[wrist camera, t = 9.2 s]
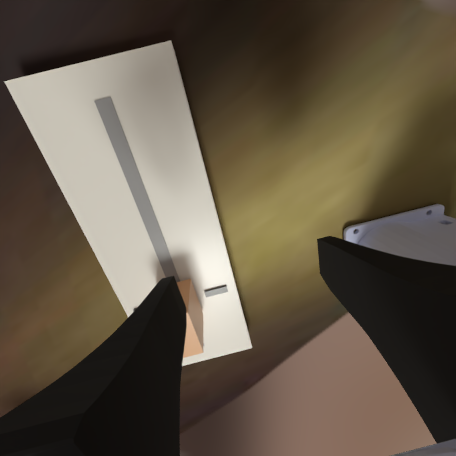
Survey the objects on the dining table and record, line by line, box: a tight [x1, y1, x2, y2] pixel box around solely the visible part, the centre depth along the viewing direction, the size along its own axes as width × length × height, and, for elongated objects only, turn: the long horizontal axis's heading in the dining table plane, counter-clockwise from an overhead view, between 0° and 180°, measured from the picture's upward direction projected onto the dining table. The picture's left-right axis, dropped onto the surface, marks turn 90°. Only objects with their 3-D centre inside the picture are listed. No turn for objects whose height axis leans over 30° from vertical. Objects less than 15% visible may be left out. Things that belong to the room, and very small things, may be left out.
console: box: [4, 41, 252, 366], centre depth 19 cm, size 10×26×2 cm, turn 13°
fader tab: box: [177, 279, 203, 358], centre depth 18 cm, size 3×4×4 cm
